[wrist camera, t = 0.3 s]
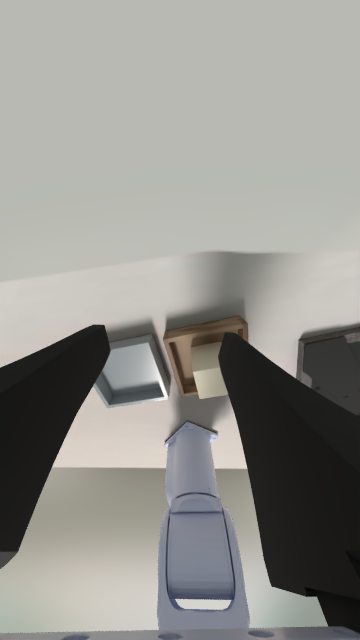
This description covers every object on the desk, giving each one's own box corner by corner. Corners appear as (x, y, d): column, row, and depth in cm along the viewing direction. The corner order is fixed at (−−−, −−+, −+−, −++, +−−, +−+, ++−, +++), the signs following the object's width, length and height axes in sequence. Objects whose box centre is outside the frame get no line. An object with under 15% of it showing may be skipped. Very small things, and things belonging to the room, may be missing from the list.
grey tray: (113, 395, 25) (107, 408, 23) (86, 347, 21) (74, 357, 19) (170, 386, 24) (168, 398, 22) (151, 333, 20) (148, 342, 18)
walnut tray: (181, 384, 24) (181, 397, 22) (165, 331, 20) (162, 339, 18) (244, 374, 23) (250, 386, 21) (239, 316, 19) (247, 323, 17)
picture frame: (295, 337, 21) (290, 423, 28) (306, 344, 19) (298, 434, 27) (417, 312, 19) (377, 411, 27) (442, 317, 17) (392, 422, 25)
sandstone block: (196, 370, 22) (199, 399, 17) (190, 347, 20) (192, 371, 16) (224, 365, 21) (235, 393, 17) (220, 341, 20) (232, 365, 15)
